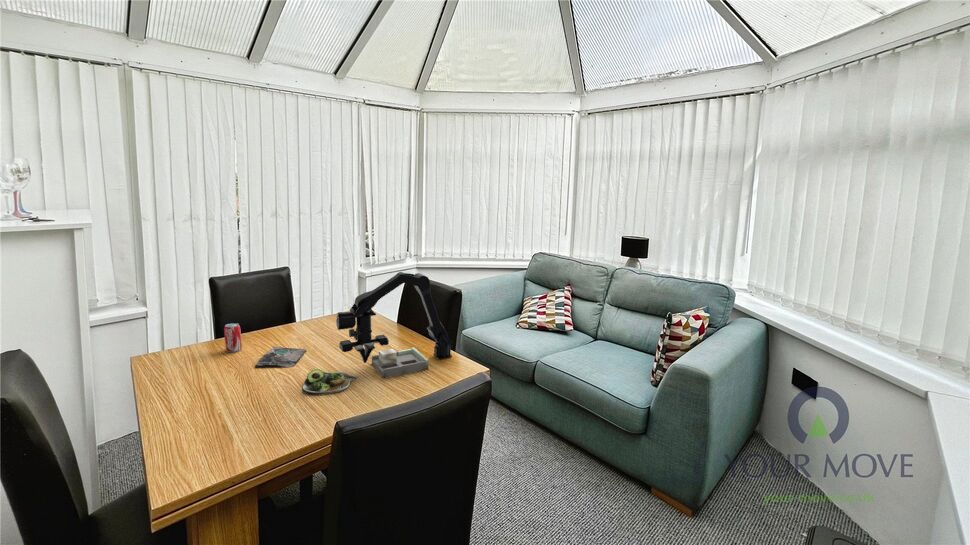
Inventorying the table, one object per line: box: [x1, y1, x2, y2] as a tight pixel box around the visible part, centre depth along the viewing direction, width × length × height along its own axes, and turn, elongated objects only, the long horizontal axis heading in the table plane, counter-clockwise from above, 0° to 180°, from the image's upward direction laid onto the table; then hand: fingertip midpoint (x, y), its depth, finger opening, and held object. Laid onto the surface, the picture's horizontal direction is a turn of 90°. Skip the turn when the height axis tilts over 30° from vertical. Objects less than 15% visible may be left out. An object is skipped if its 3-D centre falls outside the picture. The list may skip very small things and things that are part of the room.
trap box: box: [371, 347, 429, 379], centre depth 183 cm, size 19×16×4 cm
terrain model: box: [254, 346, 308, 369], centre depth 188 cm, size 20×15×3 cm
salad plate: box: [302, 368, 359, 396], centre depth 166 cm, size 19×18×5 cm
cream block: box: [378, 348, 397, 364], centre depth 184 cm, size 6×5×4 cm
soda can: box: [223, 322, 243, 353], centre depth 193 cm, size 6×6×12 cm
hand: (364, 362), depth 179 cm, fingers closed
